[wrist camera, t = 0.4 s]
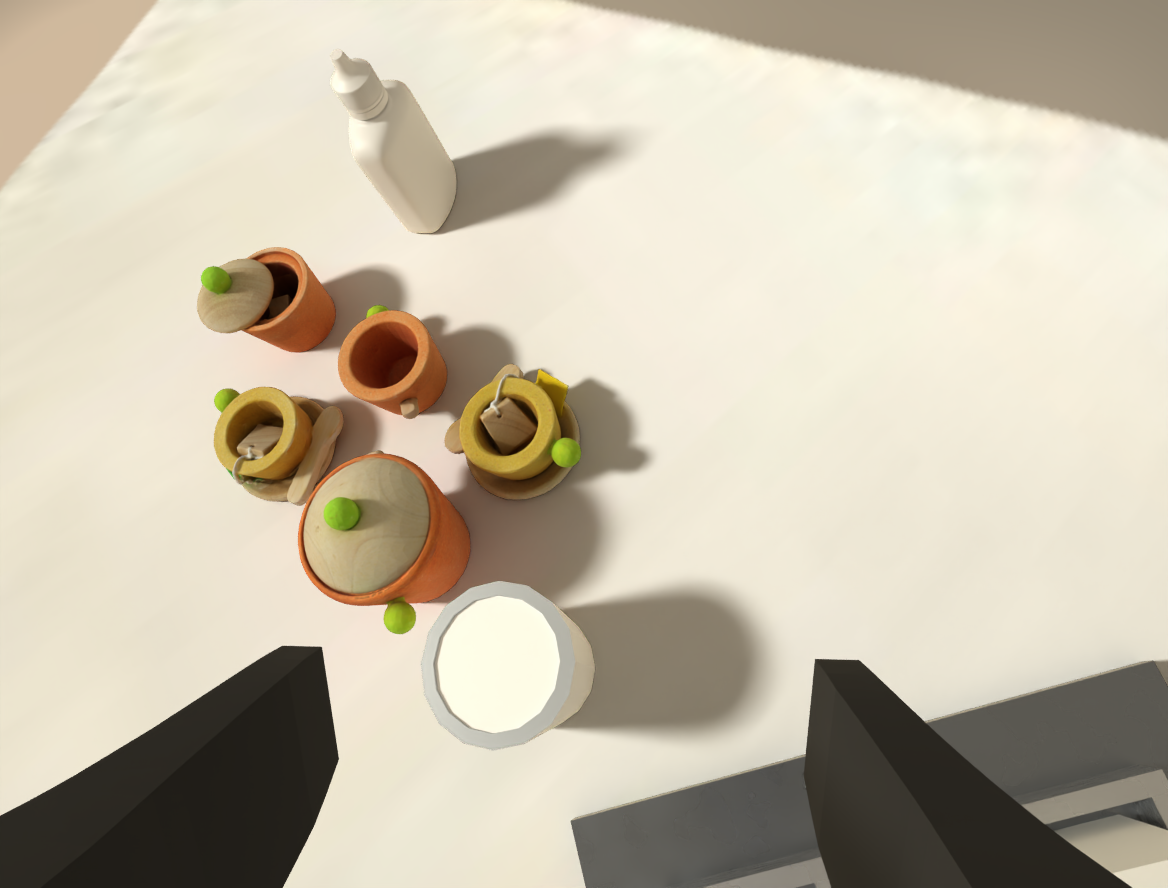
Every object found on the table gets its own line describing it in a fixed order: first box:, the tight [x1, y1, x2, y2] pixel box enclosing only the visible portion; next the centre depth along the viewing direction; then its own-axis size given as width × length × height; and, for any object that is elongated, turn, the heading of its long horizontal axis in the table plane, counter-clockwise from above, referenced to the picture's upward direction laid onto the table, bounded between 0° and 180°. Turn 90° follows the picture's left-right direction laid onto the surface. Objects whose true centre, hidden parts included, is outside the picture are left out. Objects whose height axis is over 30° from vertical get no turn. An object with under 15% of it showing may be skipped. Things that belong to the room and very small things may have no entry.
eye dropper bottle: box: [330, 49, 457, 233], centre depth 43 cm, size 4×6×12 cm
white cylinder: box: [421, 581, 595, 750], centre depth 34 cm, size 7×7×7 cm
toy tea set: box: [197, 247, 581, 634], centre depth 40 cm, size 26×16×10 cm, turn 56°
